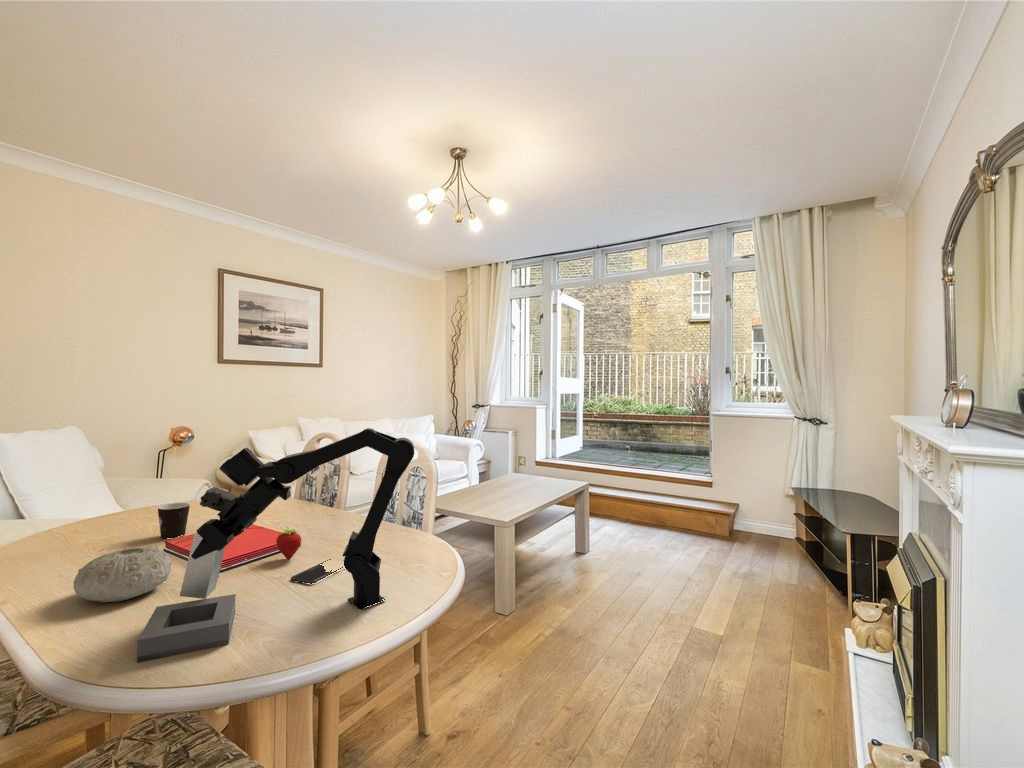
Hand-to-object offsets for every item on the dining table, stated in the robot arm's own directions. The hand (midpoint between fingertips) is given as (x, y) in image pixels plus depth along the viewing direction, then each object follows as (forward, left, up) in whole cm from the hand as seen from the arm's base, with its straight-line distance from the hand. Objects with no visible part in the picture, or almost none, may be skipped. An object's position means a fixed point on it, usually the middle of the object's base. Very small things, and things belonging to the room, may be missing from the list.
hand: (198, 553), depth 99 cm
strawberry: (+20, -26, -14) cm, 36 cm away
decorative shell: (+24, +10, -14) cm, 30 cm away
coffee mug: (+66, -6, -14) cm, 68 cm away
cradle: (-9, +3, -13) cm, 16 cm away
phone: (+4, -29, -14) cm, 33 cm away
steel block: (0, 0, -8) cm, 8 cm away
